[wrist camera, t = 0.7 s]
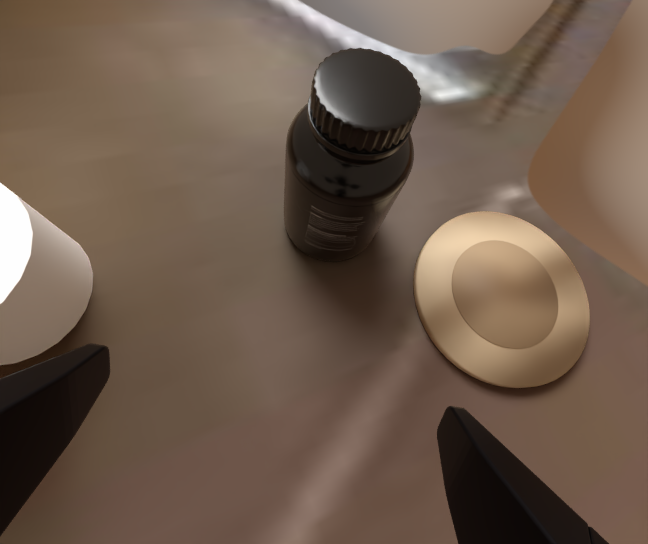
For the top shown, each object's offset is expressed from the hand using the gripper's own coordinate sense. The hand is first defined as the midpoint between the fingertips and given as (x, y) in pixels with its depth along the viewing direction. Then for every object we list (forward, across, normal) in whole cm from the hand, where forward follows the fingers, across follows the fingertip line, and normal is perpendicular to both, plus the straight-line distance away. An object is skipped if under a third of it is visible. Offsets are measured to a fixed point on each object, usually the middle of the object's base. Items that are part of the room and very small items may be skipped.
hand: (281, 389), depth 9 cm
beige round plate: (+16, -14, +2) cm, 22 cm away
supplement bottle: (+18, -1, 0) cm, 18 cm away
